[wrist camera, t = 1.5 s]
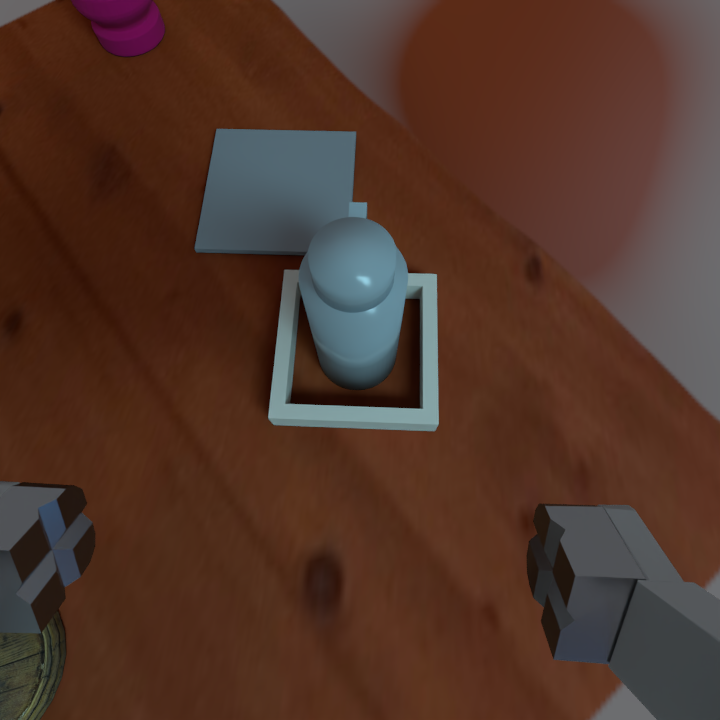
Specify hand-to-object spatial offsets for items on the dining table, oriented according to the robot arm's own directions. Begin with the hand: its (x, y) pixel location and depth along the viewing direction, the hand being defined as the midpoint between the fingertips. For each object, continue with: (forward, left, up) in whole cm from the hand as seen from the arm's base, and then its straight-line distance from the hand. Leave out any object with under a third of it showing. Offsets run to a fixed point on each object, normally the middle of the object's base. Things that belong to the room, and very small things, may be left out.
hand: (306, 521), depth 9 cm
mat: (-7, +26, -24) cm, 36 cm away
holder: (0, +12, -24) cm, 27 cm away
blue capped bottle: (0, +14, -24) cm, 27 cm away
